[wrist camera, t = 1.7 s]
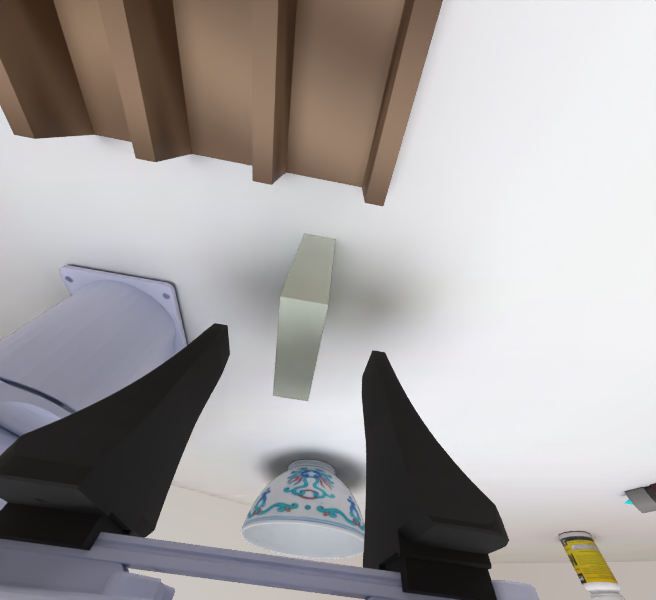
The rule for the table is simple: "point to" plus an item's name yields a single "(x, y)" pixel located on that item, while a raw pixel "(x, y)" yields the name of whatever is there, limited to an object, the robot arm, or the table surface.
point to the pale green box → (303, 317)
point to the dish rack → (223, 79)
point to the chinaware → (306, 515)
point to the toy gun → (643, 498)
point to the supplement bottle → (590, 566)
